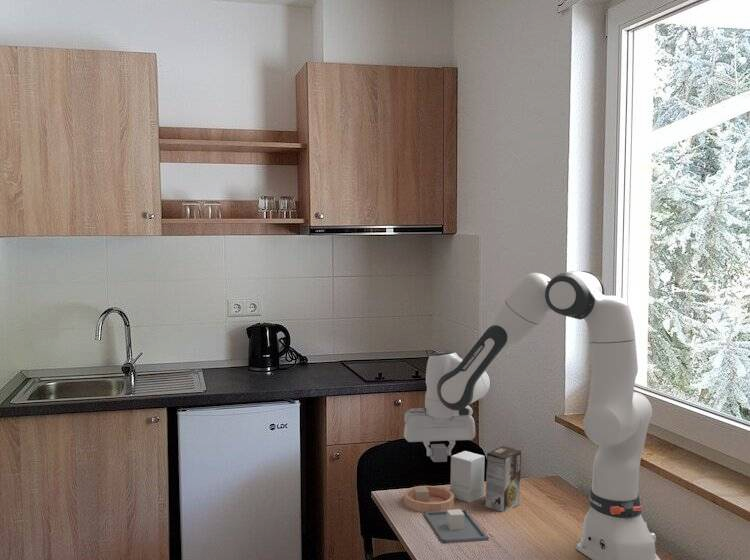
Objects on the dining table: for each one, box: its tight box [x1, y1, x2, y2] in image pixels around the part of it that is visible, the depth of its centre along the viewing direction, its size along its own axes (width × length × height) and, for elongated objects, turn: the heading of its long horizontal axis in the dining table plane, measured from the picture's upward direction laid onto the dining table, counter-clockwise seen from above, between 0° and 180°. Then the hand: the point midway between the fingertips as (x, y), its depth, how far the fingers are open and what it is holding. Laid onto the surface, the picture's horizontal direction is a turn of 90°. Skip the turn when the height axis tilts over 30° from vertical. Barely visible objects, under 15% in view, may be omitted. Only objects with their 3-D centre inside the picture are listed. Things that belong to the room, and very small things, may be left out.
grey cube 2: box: [430, 443, 448, 463], centre depth 224 cm, size 4×4×4 cm
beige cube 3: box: [446, 508, 465, 530], centre depth 209 cm, size 4×4×4 cm
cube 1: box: [413, 486, 429, 503], centre depth 224 cm, size 4×4×4 cm
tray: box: [423, 509, 489, 544], centre depth 209 cm, size 18×12×1 cm, turn 11°
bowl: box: [403, 485, 455, 513], centre depth 225 cm, size 14×14×3 cm
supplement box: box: [449, 450, 486, 503], centre depth 231 cm, size 7×7×13 cm
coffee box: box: [485, 445, 522, 513], centre depth 224 cm, size 9×6×16 cm
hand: (438, 455), depth 224 cm, fingers closed on grey cube 2, 4 cm apart
